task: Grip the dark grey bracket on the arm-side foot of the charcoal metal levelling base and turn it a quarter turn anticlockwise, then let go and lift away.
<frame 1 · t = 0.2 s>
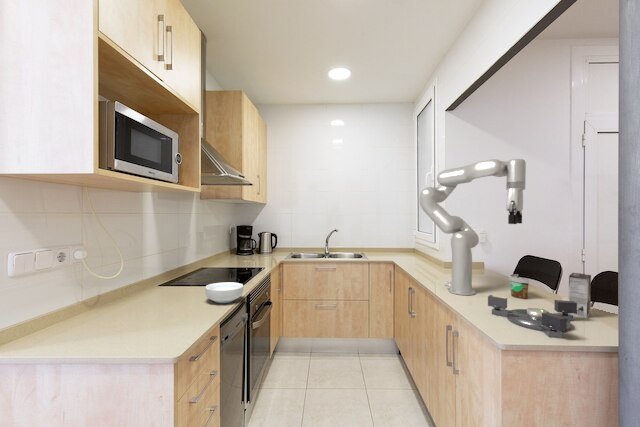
hand: (515, 223, 153), 36 cm above the worktop, tool pointing down, fingers open, 9 cm apart
cereal bowl: (224, 301, 151), on the worktop
coffee box: (579, 314, 137), on the worktop
levelling base: (537, 322, 126), on the worktop
food container: (516, 296, 164), on the worktop
dark grey bracket: (497, 301, 136), point 5 cm above the worktop, hinge at 0.0°
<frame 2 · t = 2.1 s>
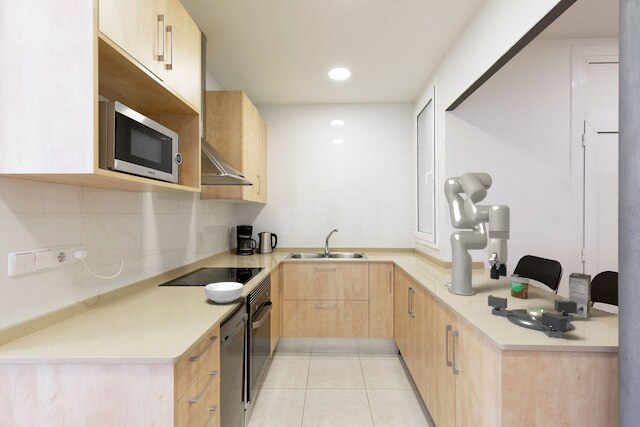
hand: (498, 277, 135), 15 cm above the worktop, tool pointing down, fingers open, 9 cm apart
nothing on the worktop moved.
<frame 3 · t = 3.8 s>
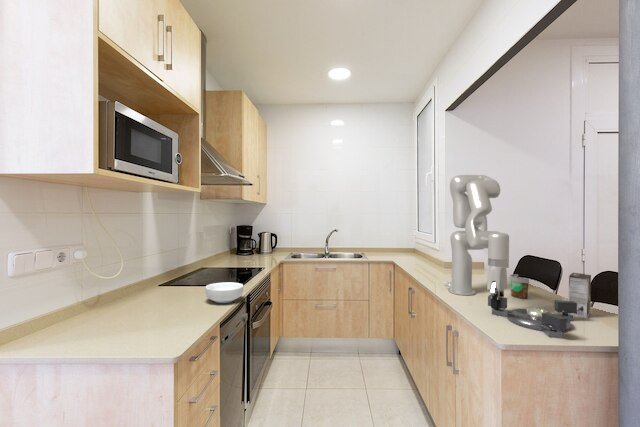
hand: (497, 307, 136), 3 cm above the worktop, tool pointing down, fingers closed on dark grey bracket, 4 cm apart
dark grey bracket: (497, 301, 136), point 5 cm above the worktop, hinge at -0.1°, touching gripper
everything else where it was.
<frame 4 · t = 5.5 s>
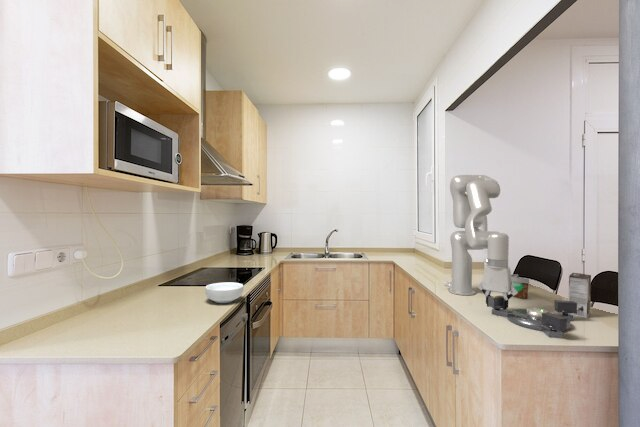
hand: (496, 307, 136), 3 cm above the worktop, tool pointing down, fingers closed on dark grey bracket, 5 cm apart
dark grey bracket: (497, 301, 136), point 5 cm above the worktop, hinge at 57.7°, touching gripper
everything else where it was.
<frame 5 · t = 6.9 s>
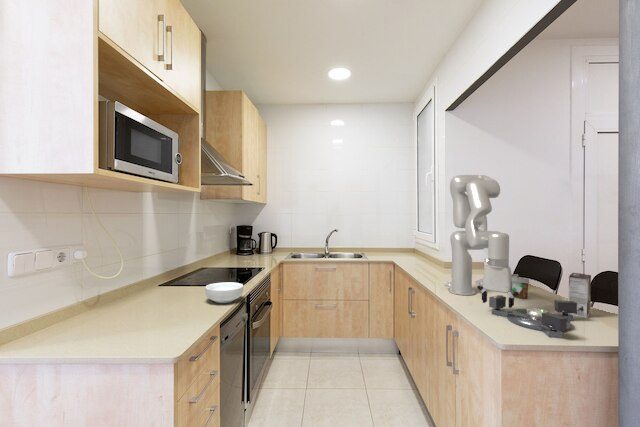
hand: (497, 304, 136), 4 cm above the worktop, tool pointing down, fingers open, 9 cm apart
dark grey bracket: (497, 301, 136), point 5 cm above the worktop, hinge at 73.1°
everything else where it was.
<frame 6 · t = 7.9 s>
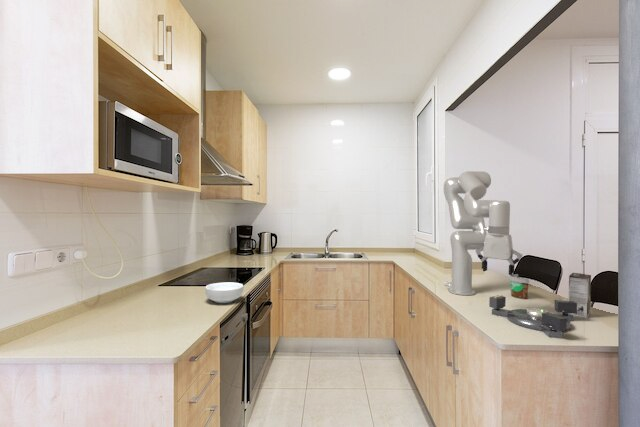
hand: (497, 272, 136), 17 cm above the worktop, tool pointing down, fingers open, 9 cm apart
dark grey bracket: (497, 301, 136), point 5 cm above the worktop, hinge at 75.9°
everything else where it was.
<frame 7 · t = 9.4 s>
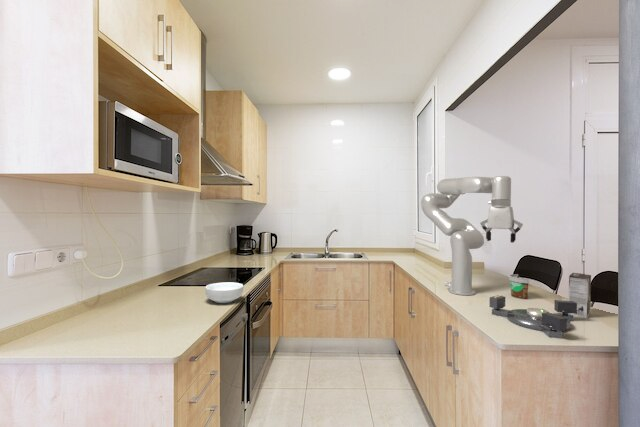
hand: (500, 241, 151), 28 cm above the worktop, tool pointing down, fingers open, 9 cm apart
dark grey bracket: (497, 301, 136), point 5 cm above the worktop, hinge at 77.2°
everything else where it was.
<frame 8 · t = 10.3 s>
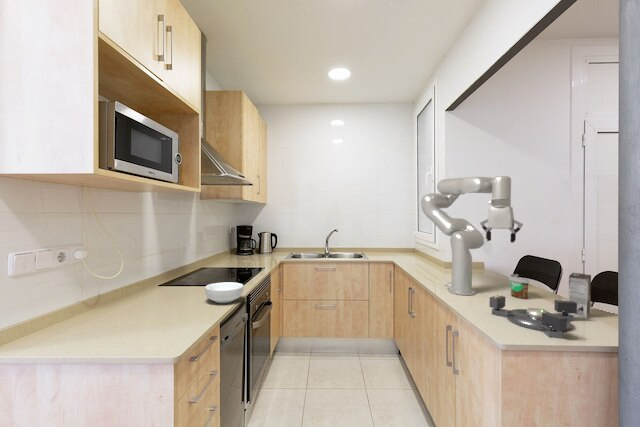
hand: (500, 241, 151), 28 cm above the worktop, tool pointing down, fingers open, 9 cm apart
nothing on the worktop moved.
at the end: dark grey bracket at +77° (first picture: +0°); the gripper is holding nothing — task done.
